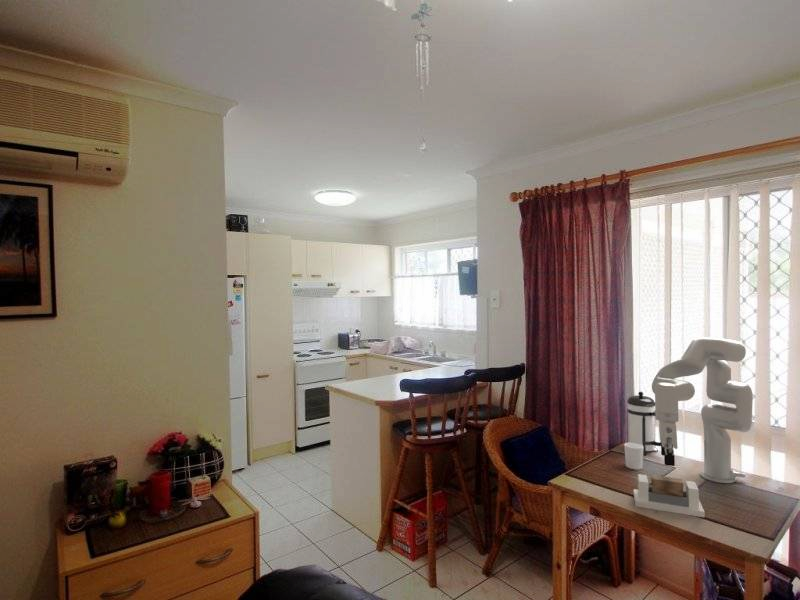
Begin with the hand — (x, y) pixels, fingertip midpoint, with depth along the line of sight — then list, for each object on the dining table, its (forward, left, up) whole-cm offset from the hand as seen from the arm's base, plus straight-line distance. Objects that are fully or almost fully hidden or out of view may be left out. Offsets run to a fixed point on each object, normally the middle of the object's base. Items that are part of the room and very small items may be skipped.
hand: (667, 460), depth 169 cm
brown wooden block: (0, +1, -15) cm, 15 cm away
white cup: (+9, -35, -17) cm, 41 cm away
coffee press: (+3, -59, -17) cm, 62 cm away
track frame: (0, +1, -17) cm, 17 cm away
